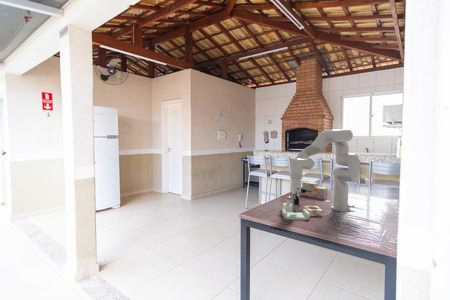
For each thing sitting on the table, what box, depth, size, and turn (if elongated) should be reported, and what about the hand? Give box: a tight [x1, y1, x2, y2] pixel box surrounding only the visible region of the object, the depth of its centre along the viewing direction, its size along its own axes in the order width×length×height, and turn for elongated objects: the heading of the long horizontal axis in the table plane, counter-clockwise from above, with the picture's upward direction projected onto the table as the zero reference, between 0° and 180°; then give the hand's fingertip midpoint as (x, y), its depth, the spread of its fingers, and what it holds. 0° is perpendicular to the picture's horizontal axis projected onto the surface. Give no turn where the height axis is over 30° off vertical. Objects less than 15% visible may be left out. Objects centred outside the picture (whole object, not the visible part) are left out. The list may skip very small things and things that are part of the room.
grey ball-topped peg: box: [285, 195, 293, 205], centre depth 165 cm, size 4×4×10 cm
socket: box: [303, 205, 324, 217], centre depth 160 cm, size 10×10×4 cm
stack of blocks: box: [301, 181, 328, 200], centre depth 208 cm, size 21×6×12 cm, turn 41°
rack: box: [281, 208, 311, 221], centre depth 153 cm, size 16×10×4 cm, turn 86°
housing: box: [282, 202, 292, 212], centre depth 165 cm, size 7×7×5 cm
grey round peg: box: [291, 194, 299, 213], centre depth 153 cm, size 4×4×11 cm
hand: (295, 203), depth 153 cm, fingers closed on grey round peg, 4 cm apart
